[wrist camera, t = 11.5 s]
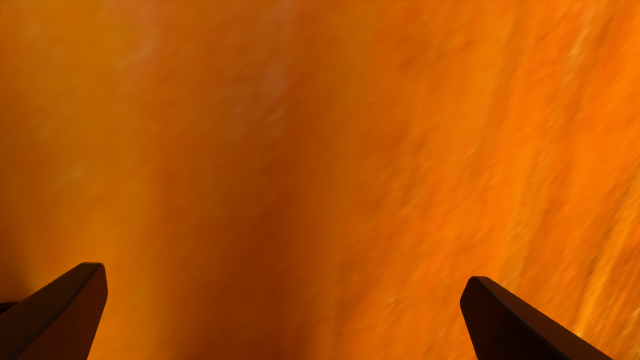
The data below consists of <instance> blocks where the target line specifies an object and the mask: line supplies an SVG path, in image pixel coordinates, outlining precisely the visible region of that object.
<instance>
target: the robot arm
mask: <svg viewBox="0 0 640 360" xmlns="http://www.w3.org/2000/svg"><path fill="white" fill-rule="evenodd" d="M107 296H108V288H107V280H106V272H105V267H104V265H103V264H102V263H95V262H83V263H81V264H79V265H77V266H76V267H74V268H72V269H71V270H69V271H68V272H66V273H65V274H63V275H62V276H60V277H58V278H57V279H55V280H54V281H52V282H51V283H49V284H48V285H46V286H44V287H43V288H41V289H40V290H38V291H37V292H35V293H34V294H32V295H30V296H29V297H27V298H26V299H24V300H23V301H21V302H20V303H6V304H0V360H87V358H88V355H89V352H90V349H91V346H92V343H93V340H94V337H95V334H96V331H97V328H98V325H99V322H100V319H101V316H102V313H103V310H104V307H105V304H106V301H107ZM460 307H461V311H462V314H463V317H464V320H465V323H466V326H467V329H468V332H469V335H470V338H471V341H472V344H473V347H474V350H475V353H476V356H477V358H478V360H613V359H612V358H610V357H609V356H607V355H606V354H604V353H603V352H601V351H600V350H598V349H596V348H595V347H593V346H592V345H590V344H589V343H587V342H586V341H584V340H583V339H581V338H580V337H578V336H577V335H575V334H574V333H572V332H571V331H569V330H567V329H566V328H564V327H563V326H561V325H560V324H558V323H557V322H555V321H554V320H552V319H551V318H549V317H548V316H546V315H545V314H543V313H542V312H540V311H539V310H537V309H535V308H534V307H532V306H531V305H529V304H528V303H526V302H525V301H523V300H522V299H520V298H519V297H517V296H516V295H514V294H513V293H511V292H510V291H508V290H506V289H505V288H503V287H502V286H500V285H499V284H497V283H496V282H494V281H493V280H491V279H490V278H488V277H485V276H472V277H471V278H470V279H469V280H468V282H467V285H466V287H465V289H464V291H463V294H462V296H461V299H460Z"/></svg>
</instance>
